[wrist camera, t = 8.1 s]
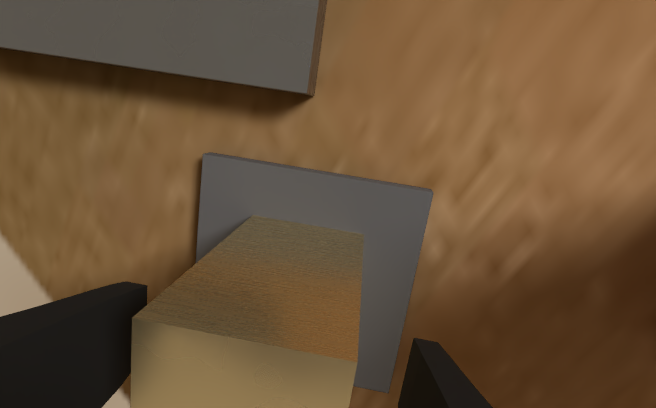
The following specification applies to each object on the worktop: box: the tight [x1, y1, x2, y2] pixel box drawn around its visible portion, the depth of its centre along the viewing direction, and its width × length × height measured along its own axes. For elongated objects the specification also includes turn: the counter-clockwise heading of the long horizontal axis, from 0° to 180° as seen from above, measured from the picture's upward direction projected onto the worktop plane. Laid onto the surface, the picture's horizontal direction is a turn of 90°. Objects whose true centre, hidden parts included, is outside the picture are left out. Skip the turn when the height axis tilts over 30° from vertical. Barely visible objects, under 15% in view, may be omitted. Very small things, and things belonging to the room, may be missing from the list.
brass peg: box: [130, 215, 364, 408], centre depth 10 cm, size 4×4×7 cm
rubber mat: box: [196, 152, 433, 393], centre depth 14 cm, size 8×8×1 cm
